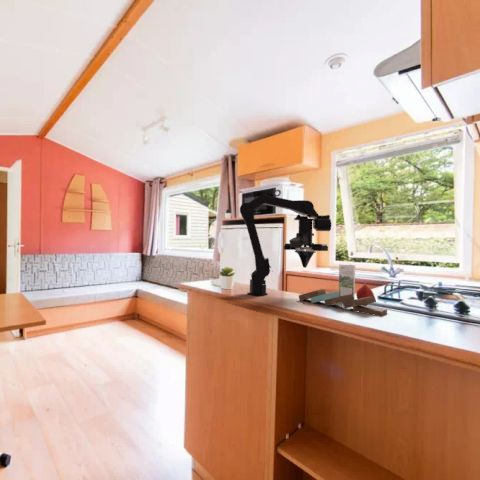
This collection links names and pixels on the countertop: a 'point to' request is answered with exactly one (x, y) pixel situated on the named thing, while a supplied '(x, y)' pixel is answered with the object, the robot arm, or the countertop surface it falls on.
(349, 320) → the countertop surface
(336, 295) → the domino
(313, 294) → the domino
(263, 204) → the robot arm
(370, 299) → the domino
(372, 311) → the domino
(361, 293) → the onion
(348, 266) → the syrup box
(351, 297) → the domino
